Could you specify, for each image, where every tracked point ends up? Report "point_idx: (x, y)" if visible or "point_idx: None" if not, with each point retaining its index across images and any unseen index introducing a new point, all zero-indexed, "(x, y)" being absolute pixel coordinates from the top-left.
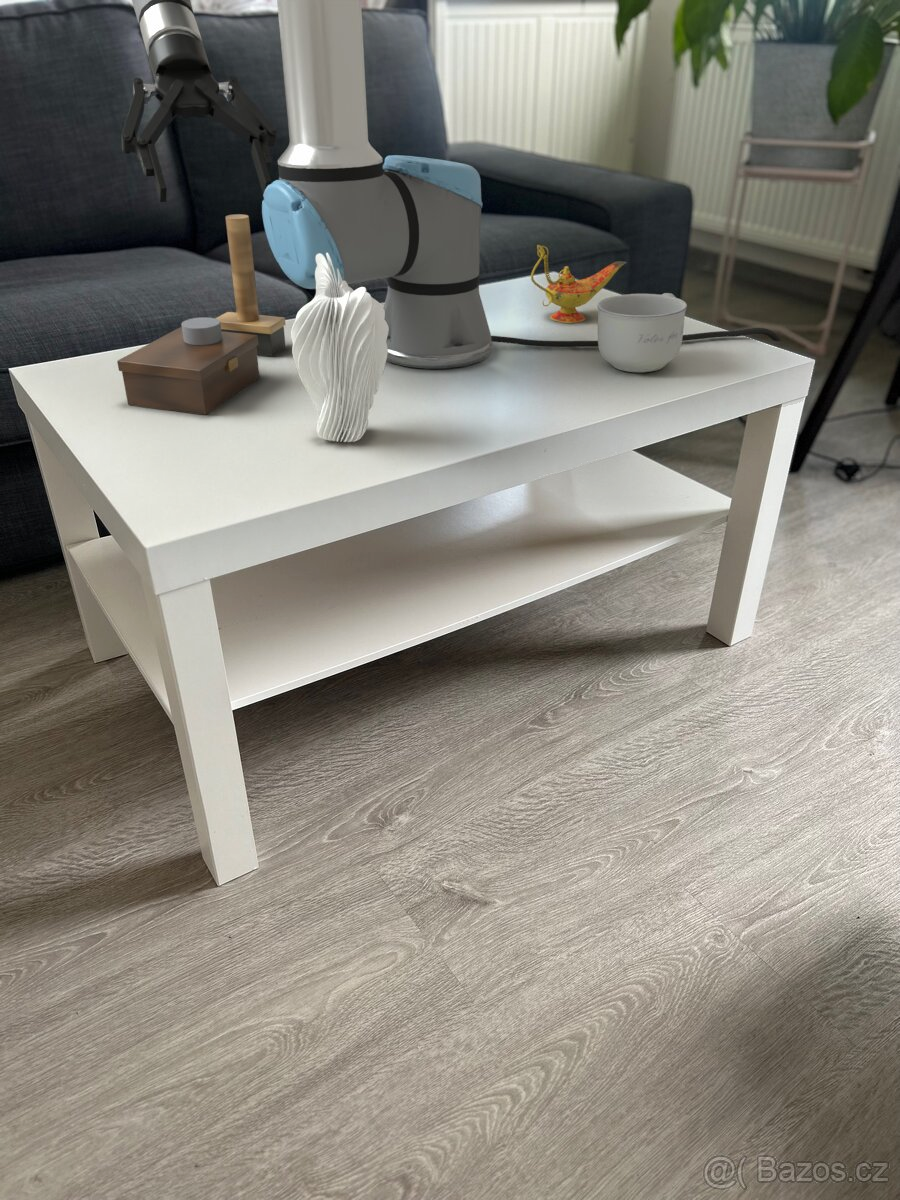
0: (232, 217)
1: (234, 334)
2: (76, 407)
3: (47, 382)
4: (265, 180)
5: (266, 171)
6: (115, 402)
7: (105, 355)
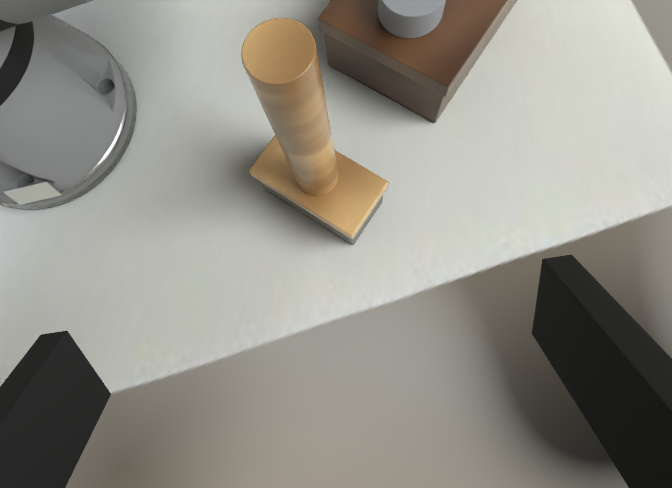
0: (294, 38)
1: (355, 26)
2: (589, 5)
3: (656, 111)
4: (62, 336)
5: (15, 379)
6: (536, 13)
7: (579, 224)
